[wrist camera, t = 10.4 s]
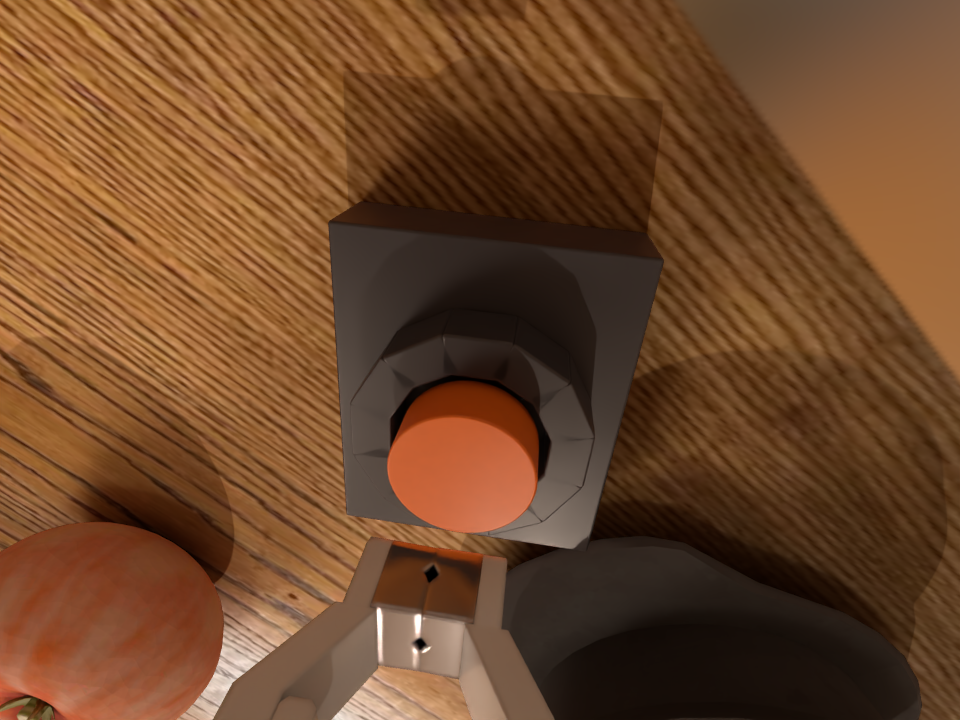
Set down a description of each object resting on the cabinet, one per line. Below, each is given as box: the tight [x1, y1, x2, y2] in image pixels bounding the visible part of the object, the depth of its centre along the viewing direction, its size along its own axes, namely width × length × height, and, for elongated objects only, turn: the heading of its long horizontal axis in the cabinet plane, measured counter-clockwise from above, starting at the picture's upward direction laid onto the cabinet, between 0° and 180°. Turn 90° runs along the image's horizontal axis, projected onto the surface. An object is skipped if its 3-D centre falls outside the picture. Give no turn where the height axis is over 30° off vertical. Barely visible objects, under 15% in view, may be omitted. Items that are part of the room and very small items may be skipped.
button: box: [387, 380, 539, 533], centre depth 14 cm, size 4×4×2 cm
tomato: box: [0, 522, 224, 720], centre depth 23 cm, size 11×11×8 cm
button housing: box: [328, 202, 664, 551], centre depth 16 cm, size 11×9×4 cm
